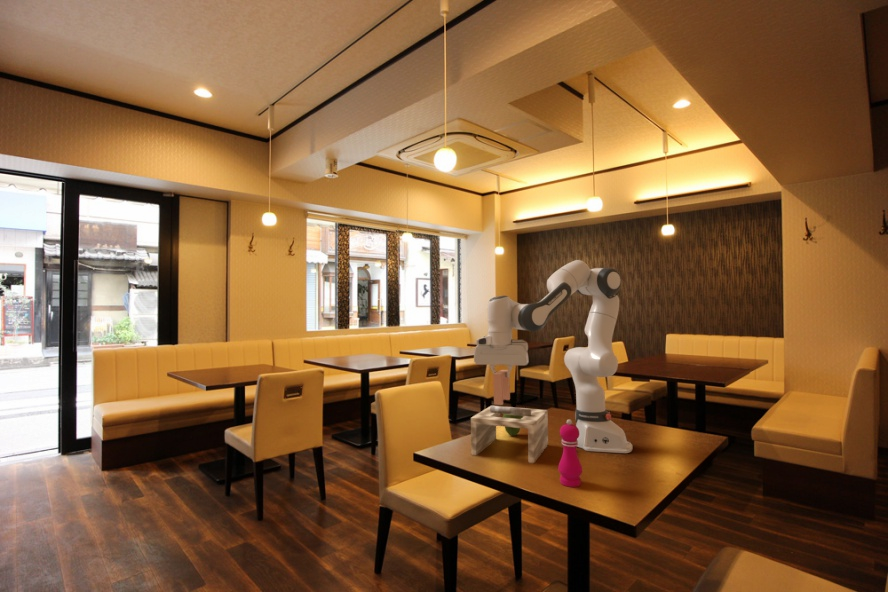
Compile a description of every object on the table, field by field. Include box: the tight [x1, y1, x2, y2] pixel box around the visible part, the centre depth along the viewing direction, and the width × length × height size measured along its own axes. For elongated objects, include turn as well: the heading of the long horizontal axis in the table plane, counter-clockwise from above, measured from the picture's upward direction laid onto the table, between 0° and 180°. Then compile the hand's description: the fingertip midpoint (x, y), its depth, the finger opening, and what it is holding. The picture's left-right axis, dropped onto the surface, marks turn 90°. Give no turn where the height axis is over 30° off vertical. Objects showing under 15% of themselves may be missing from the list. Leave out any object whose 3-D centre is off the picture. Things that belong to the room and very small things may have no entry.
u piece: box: [492, 369, 511, 406], centre depth 168 cm, size 3×10×11 cm, turn 156°
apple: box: [502, 414, 524, 437], centre depth 199 cm, size 9×8×12 cm
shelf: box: [470, 405, 549, 464], centre depth 179 cm, size 24×24×16 cm
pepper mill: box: [557, 419, 583, 488], centre depth 144 cm, size 7×7×20 cm
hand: (501, 376), depth 169 cm, fingers closed on u piece, 3 cm apart
